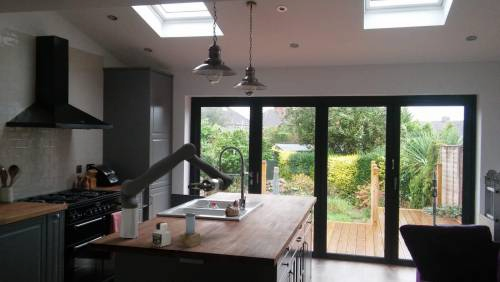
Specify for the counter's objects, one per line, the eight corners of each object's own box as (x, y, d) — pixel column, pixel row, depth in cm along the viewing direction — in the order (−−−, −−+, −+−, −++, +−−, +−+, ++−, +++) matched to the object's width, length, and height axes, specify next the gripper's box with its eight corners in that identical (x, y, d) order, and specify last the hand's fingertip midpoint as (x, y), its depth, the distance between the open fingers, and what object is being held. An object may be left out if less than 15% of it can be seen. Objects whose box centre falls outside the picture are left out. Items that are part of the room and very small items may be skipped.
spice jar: (183, 234, 229) (183, 213, 229) (189, 232, 234) (189, 212, 234) (191, 235, 226) (191, 214, 226) (196, 233, 231) (197, 213, 231)
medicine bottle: (152, 245, 228) (152, 222, 228) (161, 242, 234) (162, 221, 234) (161, 247, 224) (161, 224, 224) (171, 244, 230) (171, 222, 230)
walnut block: (179, 245, 228) (179, 234, 228) (188, 242, 235) (188, 231, 235) (191, 247, 224) (191, 236, 224) (200, 244, 231) (200, 233, 231)
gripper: (201, 178, 260) (184, 180, 246) (220, 179, 253) (204, 181, 239) (200, 190, 260) (184, 193, 246) (220, 192, 253) (204, 194, 239)
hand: (194, 187), depth 243 cm, fingers open, 8 cm apart
